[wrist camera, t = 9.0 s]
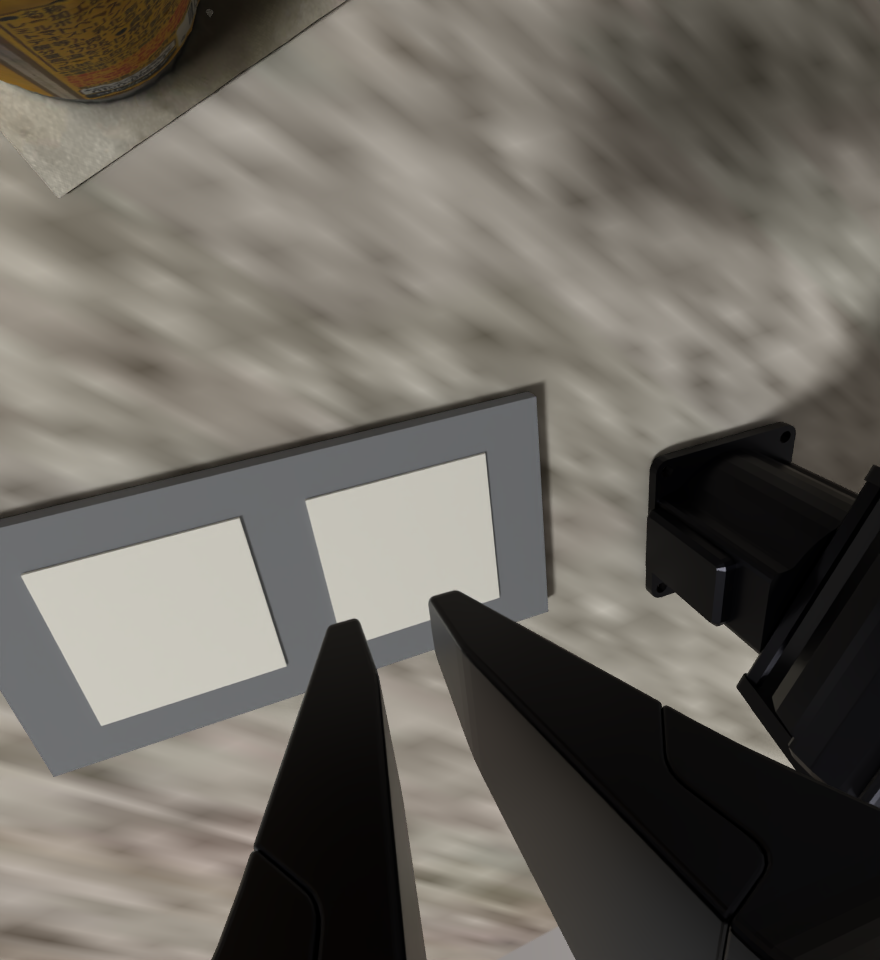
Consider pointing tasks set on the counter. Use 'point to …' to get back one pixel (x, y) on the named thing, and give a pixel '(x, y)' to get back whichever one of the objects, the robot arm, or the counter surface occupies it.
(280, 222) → the counter surface
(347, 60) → the counter surface
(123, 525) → the mat
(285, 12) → the condiment
